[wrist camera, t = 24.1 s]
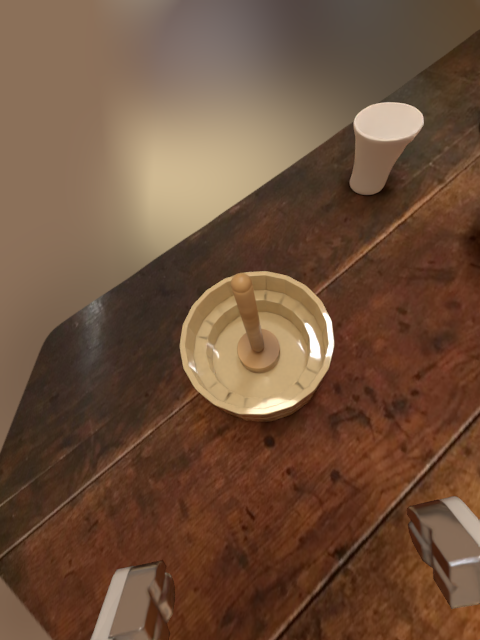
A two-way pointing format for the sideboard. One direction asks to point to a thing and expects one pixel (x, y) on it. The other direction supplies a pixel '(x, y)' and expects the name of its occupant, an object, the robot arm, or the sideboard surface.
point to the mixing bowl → (275, 316)
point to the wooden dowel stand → (253, 330)
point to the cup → (381, 143)
